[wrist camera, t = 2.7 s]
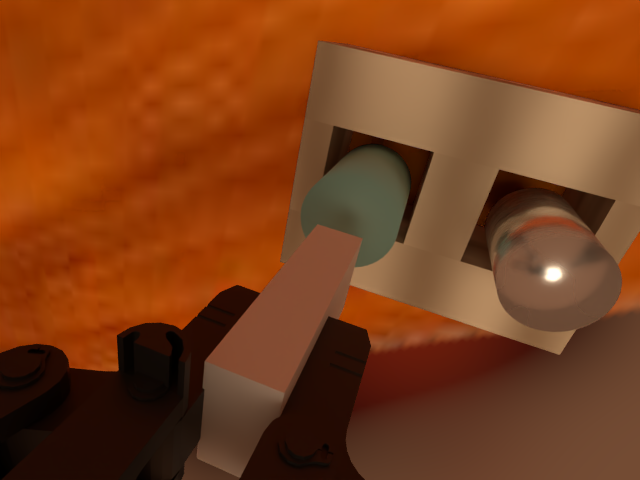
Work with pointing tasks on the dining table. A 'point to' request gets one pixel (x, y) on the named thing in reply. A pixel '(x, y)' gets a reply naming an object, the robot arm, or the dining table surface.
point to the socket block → (465, 171)
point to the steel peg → (549, 262)
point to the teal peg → (361, 199)
